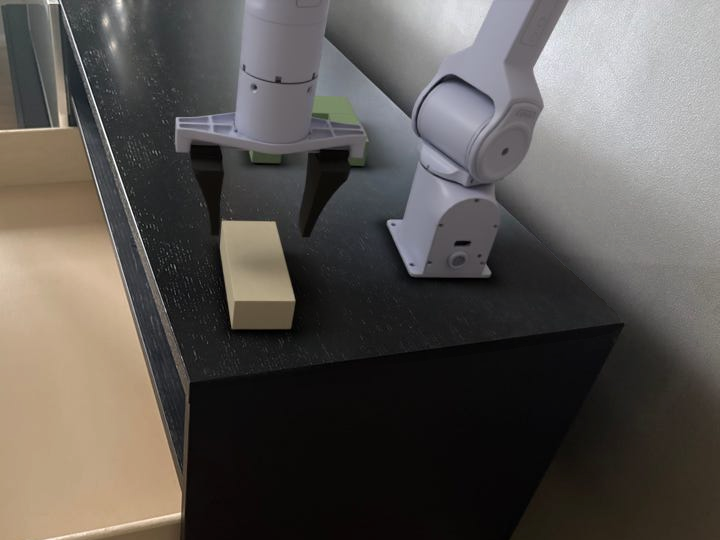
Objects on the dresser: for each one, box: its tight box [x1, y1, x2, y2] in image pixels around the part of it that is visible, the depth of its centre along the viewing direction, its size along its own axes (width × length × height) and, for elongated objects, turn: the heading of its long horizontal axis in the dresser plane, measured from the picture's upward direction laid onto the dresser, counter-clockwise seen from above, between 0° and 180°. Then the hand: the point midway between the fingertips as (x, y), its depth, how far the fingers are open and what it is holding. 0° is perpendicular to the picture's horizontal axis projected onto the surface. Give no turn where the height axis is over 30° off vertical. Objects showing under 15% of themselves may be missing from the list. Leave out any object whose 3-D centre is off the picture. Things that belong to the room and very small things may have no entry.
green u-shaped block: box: [248, 95, 370, 167], centre depth 89 cm, size 12×13×3 cm
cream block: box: [219, 220, 296, 330], centre depth 66 cm, size 12×5×3 cm, turn 6°
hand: (259, 230), depth 63 cm, fingers open, 7 cm apart
